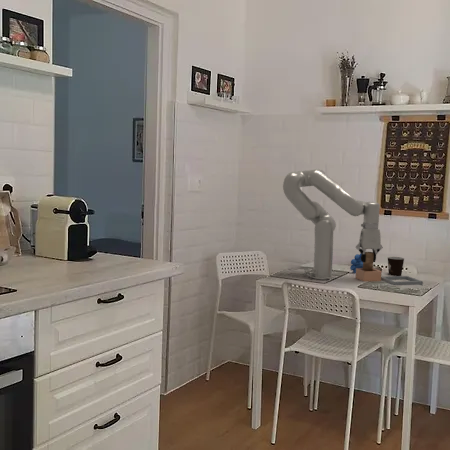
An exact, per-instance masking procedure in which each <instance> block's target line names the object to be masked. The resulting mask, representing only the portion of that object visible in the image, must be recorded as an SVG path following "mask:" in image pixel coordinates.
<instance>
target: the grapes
mask: <svg viewBox="0 0 450 450" xmlns="http://www.w3.org/2000/svg"><path fill="white" fill-rule="evenodd" d="M359 253H360V252H359ZM350 264H351V265H350V266H349V269H350V270H351V271H352V274H356V268H363V262H362V261H361V253H360V254H358V253H357V254H355V255H354V258H353V259H351V261H350Z"/></svg>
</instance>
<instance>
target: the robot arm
mask: <svg viewBox="0 0 450 450" xmlns="http://www.w3.org/2000/svg"><path fill="white" fill-rule="evenodd" d="M304 187H314V188H315V189H317V190H318V191H320V192H321V193H322V194H324V195H325V196H326V197H327V198H329V199H330V200H331V201H332V202H334V204H336V205H337V206H338V207H339V208H341V209H342V210H344V211H345V212H346V213H348V214H349V215H350V216H352V217H359V216H360V215H361V216H363V220H362V221H363V222H362V223H360V227H362V228H361V229H360V234H359V241H358V243H357V244H356V245H355V248H356V250H358V252H359V253H361V261H362V262H365V259H366V254H365V252H367V250H371V252H373V253H374V259H373V263H376V260H377V255H378V254H379V252H380V251H382V249H383V245H382V244H381V237H382V236H381V230H380V229H379V220H380V210H381V209H380V208H381V205H380V203H379V202H376V201H362V200H356V199H355V198H354V197H353V196H351V195H350V194H349V193H348V192H346V191H345V190H344V188H343V186H341V185H340V184H339V183H338V182H336V181H335V180H334V179H333V178H331V177H330V176H328V174H326V172H325V171H324V170H323V169H319V168H316V169H309V170H301V171H300V170H299V171H291V172H289V173H288V174H286V176H285V177H284V179H283V184H282V189H283V190H282V191H283V194H284V196H285V198H286V199H287V200H288V201H289V203H291V204H292V205H293V207H294V208H295V209H296V210H297V211H298V212H299V213H300V214H301V215H302V217H303V218H304V219H305V220H308V221H311V222H312V224H313V225H314V251H313V253H314V254H313V256H314V257H313V268H311V269H310V270H308V269H305V270H304V274H305V275H310V278H311V279H314V280H319V281H320V280H322V281H328V280H330V279H333V278H335V277H336V276H335V275H333V259H334V258H333V257H334V256H333V255H334V254H333V253H334V231H335V230H336V226H337V224H336V220H335V219H334V217H332V216H331V214H329V213H328V212H327V210H326V209H325V208H324V207H323V206H322V205H321V204H320V203H319V202H317V201H313V200H311V199H310V198H309V196H307V194H306V193H305V192H304V191H302V189H301V188H304Z"/></svg>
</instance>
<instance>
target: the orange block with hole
mask: <svg viewBox="0 0 450 450" xmlns="http://www.w3.org/2000/svg"><path fill="white" fill-rule="evenodd" d="M381 277H382V270H379V269H376V268H374V267H373V271H364V270H363V268H356V273H355V279H356V280H360V281H362V282H365V283H367V282H368V283H369V282H382V280H381Z"/></svg>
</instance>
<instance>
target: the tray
mask: <svg viewBox="0 0 450 450" xmlns="http://www.w3.org/2000/svg"><path fill="white" fill-rule="evenodd" d="M394 280H395V281H394ZM396 280H397V281H396ZM399 280H400V281H399ZM401 280H405V281H401ZM381 282H385V283H387V284H389V285H392V286H414V285H415V286H417V285H420V286H423V285H424V284H423V283H424V281H423V280H420V279H417V278H416V277H412V276H409V275H401V276H393V275H390V276H389V275H388V276H387V275H386V276H381Z"/></svg>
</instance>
